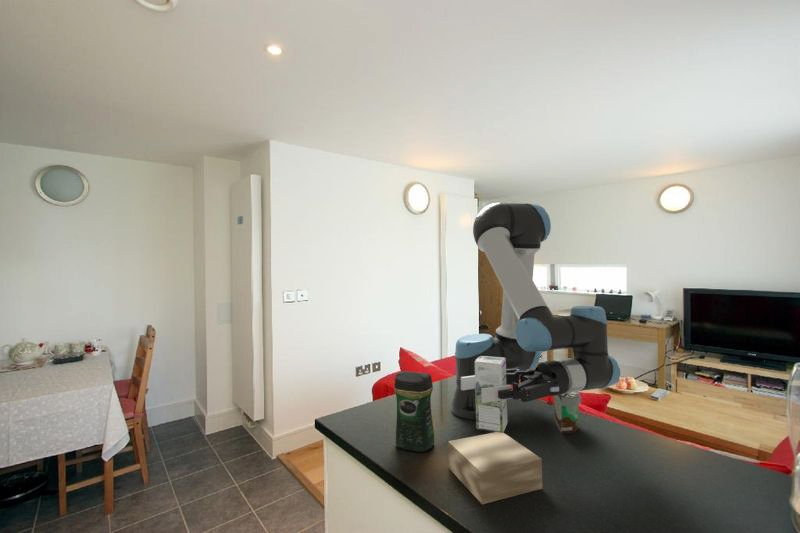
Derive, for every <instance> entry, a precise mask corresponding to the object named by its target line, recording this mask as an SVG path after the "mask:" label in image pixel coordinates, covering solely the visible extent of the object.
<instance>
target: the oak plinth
mask: <svg viewBox="0 0 800 533" xmlns="http://www.w3.org/2000/svg"><path fill="white" fill-rule="evenodd" d="M447 447H448V448H447V450H448V451H447V454H448V455H447V456H448V469H449V470H450V471H451V473H453V474H454V475H455V477H457V479H458V480H459V481H460V482H461V483H462V484H463V485H464V487H465V488H466V489H467V490H468V491H469V492H470V493H471V494H472V495H473V497H475V498H476V499H477V501H478V502H479V503H480V504H481V505H485V504H489V503H493V502H497V501H500V500H503V499H508V498H512V497H516V496H519V495H520V496H521V495H523V494H527V493H531V492H534V491H539V490H542V489H543V459H542V458H541V456H539V455H537V454H535V453H534V452H532V451H531V450H530V449H528V448H527V447H526V446H524V445H522V444H521V443H519V442H518V441H517V440H515V439H513V438H512V437H511V436H509V435H508V434H506V433H504V432H503V433H500V432H489V433H484V434H478V435H473V436H469V437H464V438H463V437H462V438H458V439H453V440H448V442H447Z"/></svg>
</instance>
